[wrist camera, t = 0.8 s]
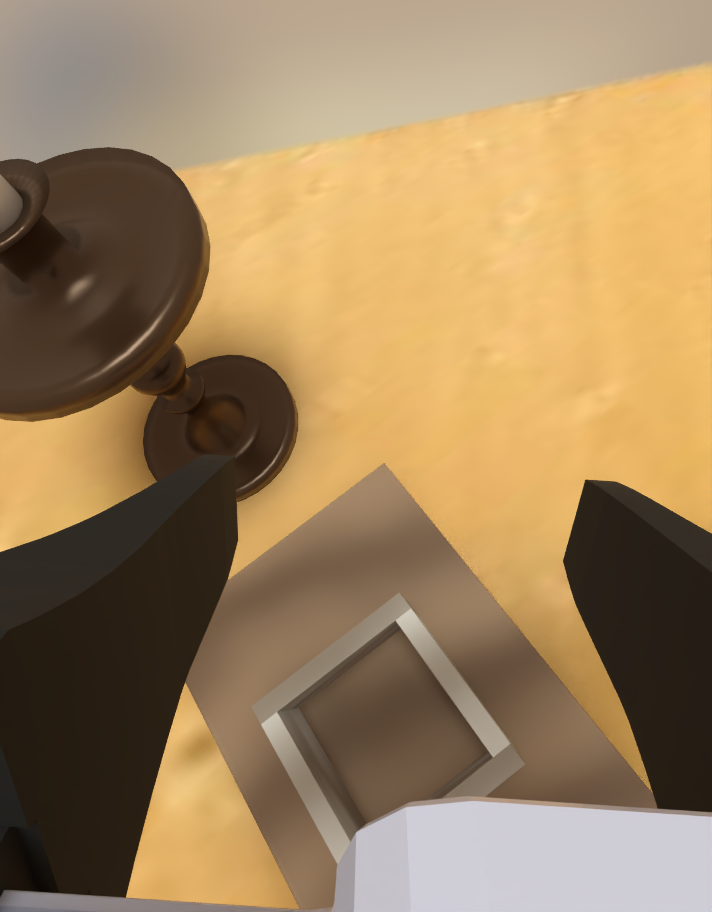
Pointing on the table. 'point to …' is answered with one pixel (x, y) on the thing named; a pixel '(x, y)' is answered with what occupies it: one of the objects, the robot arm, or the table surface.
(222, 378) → the candlestick
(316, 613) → the brown socket board
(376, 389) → the table surface
